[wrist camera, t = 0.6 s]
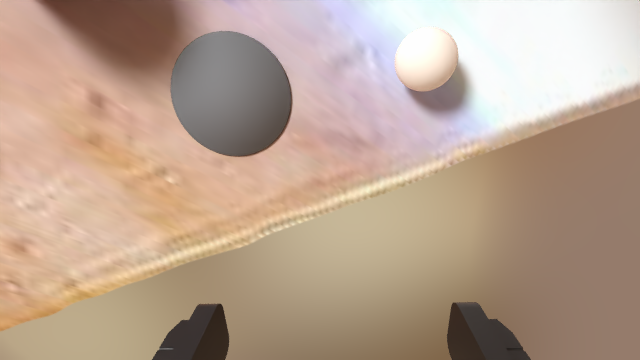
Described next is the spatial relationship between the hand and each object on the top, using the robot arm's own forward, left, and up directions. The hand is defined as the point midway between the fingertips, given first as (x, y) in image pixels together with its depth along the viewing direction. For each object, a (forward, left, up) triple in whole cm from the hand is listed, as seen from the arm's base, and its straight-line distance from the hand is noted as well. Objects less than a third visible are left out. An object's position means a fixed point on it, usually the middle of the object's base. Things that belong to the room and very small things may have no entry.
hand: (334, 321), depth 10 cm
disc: (-2, -12, -25) cm, 28 cm away
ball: (-12, +5, -22) cm, 26 cm away
